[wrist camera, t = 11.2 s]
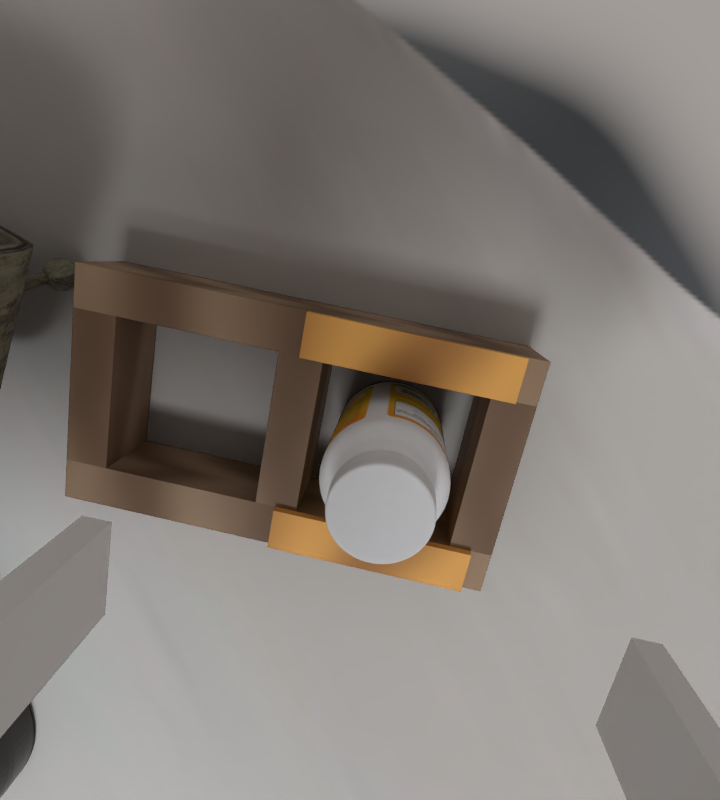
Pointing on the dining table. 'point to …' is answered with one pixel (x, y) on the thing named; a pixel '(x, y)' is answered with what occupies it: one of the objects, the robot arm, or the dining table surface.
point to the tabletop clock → (23, 283)
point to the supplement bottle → (385, 474)
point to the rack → (284, 414)
